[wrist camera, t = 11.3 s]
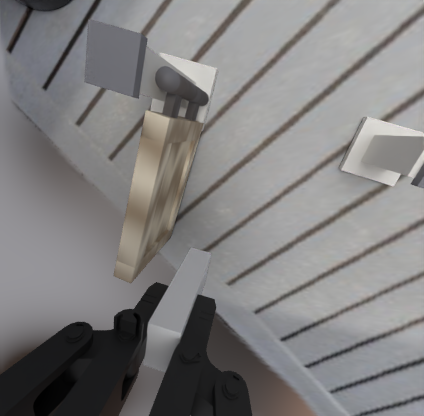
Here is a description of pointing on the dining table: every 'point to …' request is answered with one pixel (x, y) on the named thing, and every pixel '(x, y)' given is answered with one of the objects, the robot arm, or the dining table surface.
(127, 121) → the dining table surface
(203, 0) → the dining table surface
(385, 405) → the dining table surface
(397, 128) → the latch post
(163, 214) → the gate
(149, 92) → the hinge post
